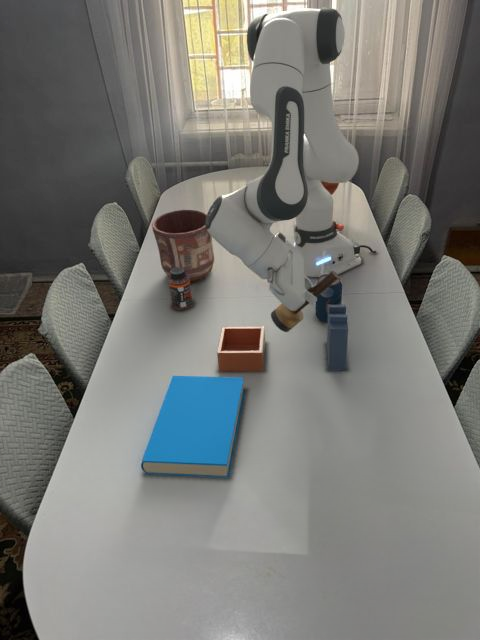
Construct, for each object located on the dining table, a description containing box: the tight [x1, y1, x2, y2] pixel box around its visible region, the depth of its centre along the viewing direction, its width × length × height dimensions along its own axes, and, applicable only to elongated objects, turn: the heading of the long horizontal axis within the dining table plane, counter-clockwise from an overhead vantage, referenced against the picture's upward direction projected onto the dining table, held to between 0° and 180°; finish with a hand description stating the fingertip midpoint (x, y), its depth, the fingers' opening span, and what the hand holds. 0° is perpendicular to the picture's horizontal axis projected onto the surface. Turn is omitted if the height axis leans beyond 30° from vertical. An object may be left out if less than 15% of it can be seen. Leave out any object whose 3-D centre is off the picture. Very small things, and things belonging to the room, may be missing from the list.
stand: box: [326, 304, 349, 371], centre depth 121 cm, size 4×10×14 cm, turn 177°
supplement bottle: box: [167, 267, 194, 311], centre depth 144 cm, size 6×6×11 cm
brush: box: [270, 271, 340, 333], centre depth 116 cm, size 15×6×15 cm, turn 87°
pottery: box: [151, 209, 215, 284], centre depth 156 cm, size 18×18×18 cm
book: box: [140, 375, 246, 479], centre depth 107 cm, size 17×4×25 cm
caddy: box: [216, 326, 266, 372], centre depth 125 cm, size 11×11×6 cm
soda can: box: [314, 274, 344, 325], centre depth 135 cm, size 7×7×12 cm
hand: (314, 296), depth 115 cm, fingers closed on brush, 2 cm apart
